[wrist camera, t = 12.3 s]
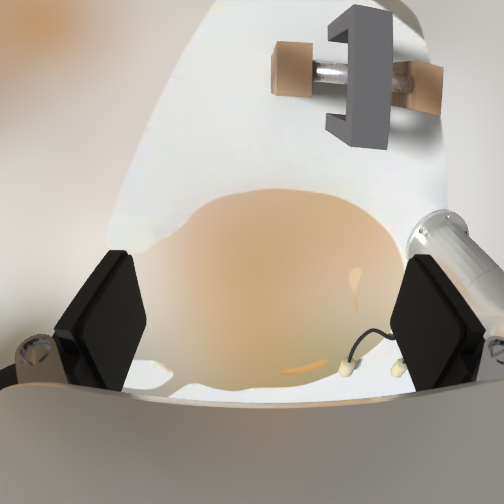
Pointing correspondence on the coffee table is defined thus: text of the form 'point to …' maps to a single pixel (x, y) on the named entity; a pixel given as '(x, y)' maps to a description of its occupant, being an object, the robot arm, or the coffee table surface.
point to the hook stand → (305, 71)
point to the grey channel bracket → (365, 76)
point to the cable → (349, 362)
